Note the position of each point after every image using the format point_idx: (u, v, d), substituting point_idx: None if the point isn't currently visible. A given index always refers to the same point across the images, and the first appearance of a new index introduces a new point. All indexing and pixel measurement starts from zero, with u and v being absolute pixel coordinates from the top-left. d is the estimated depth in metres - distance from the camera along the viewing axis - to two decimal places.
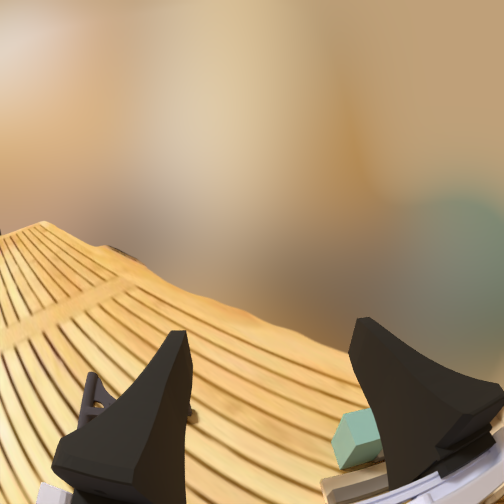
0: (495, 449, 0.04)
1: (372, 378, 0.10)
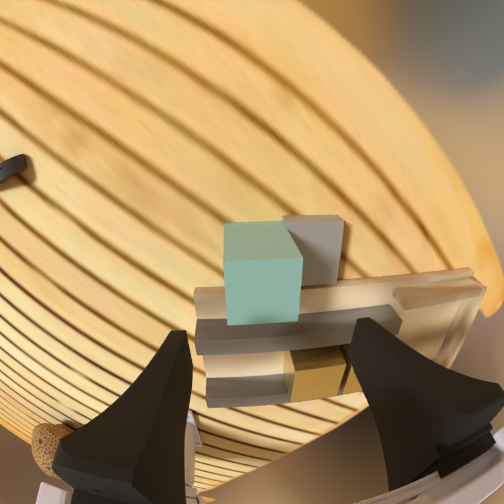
0: (495, 449, 0.04)
1: (372, 378, 0.10)
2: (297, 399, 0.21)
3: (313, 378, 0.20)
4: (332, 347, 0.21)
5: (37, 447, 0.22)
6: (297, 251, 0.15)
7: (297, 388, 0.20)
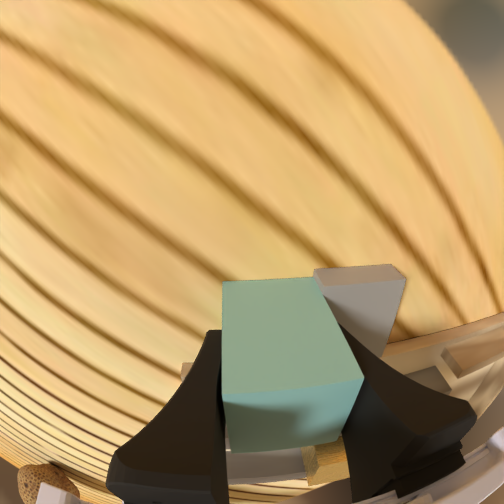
0: (495, 449, 0.04)
1: None
2: (316, 483, 0.13)
3: (340, 467, 0.13)
4: None
5: (23, 491, 0.15)
6: (351, 358, 0.08)
7: (318, 476, 0.13)
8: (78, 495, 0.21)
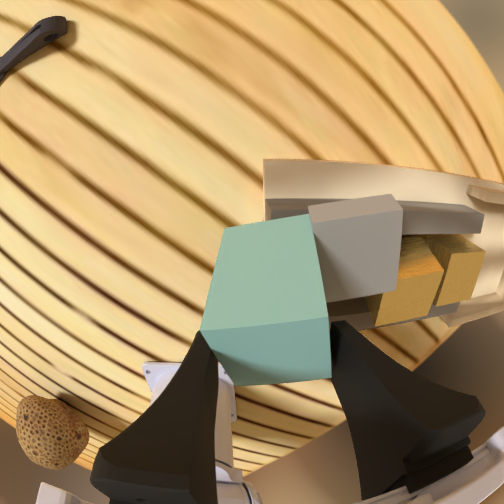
0: (495, 449, 0.04)
1: (345, 384, 0.10)
2: (382, 322, 0.16)
3: (405, 291, 0.15)
4: (423, 250, 0.15)
5: (21, 425, 0.17)
6: (321, 296, 0.09)
7: (385, 306, 0.15)
8: (87, 435, 0.23)
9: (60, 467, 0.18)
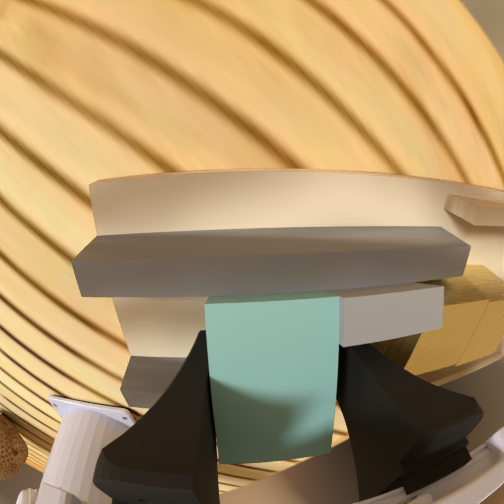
0: (495, 449, 0.04)
1: (343, 384, 0.10)
2: None
3: (448, 326, 0.10)
4: (459, 278, 0.11)
5: None
6: (329, 436, 0.08)
7: (420, 348, 0.10)
8: (25, 452, 0.18)
9: (2, 478, 0.13)
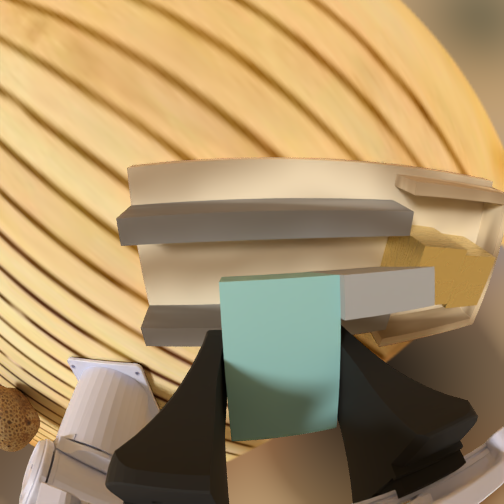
0: (495, 449, 0.04)
1: None
2: None
3: (437, 265, 0.14)
4: (444, 237, 0.16)
5: None
6: (334, 410, 0.09)
7: None
8: (37, 422, 0.22)
9: (13, 449, 0.17)
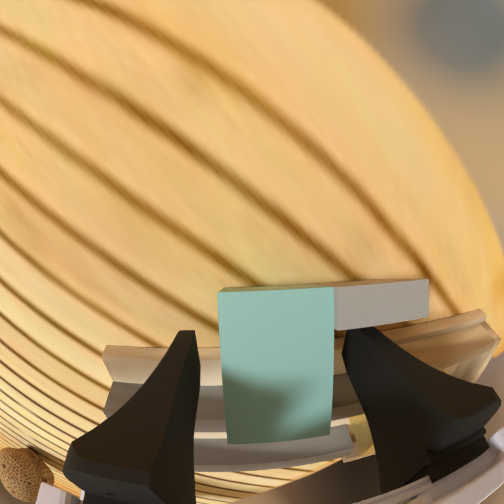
0: (495, 449, 0.04)
1: (365, 380, 0.10)
2: (370, 452, 0.15)
3: None
4: None
5: (1, 471, 0.15)
6: (328, 418, 0.09)
7: None
8: (52, 479, 0.21)
9: (33, 501, 0.16)
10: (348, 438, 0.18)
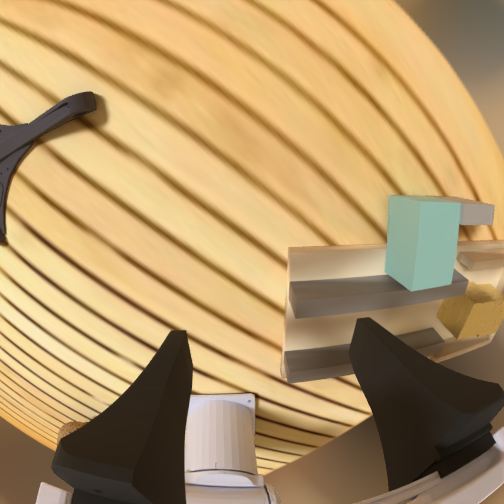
0: (495, 449, 0.04)
1: (372, 378, 0.10)
2: (461, 336, 0.20)
3: (478, 313, 0.19)
4: (481, 290, 0.21)
5: None
6: (451, 273, 0.17)
7: (467, 323, 0.20)
8: None
9: None
10: (438, 335, 0.23)
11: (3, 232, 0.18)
